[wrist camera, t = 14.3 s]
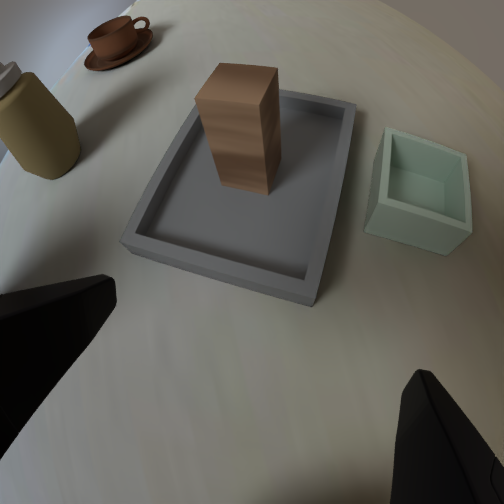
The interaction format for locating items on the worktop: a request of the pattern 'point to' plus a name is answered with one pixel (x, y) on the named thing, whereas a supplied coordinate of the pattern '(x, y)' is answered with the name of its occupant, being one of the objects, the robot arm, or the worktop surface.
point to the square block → (243, 124)
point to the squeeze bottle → (35, 125)
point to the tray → (250, 205)
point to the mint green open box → (419, 193)
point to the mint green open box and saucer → (117, 42)
